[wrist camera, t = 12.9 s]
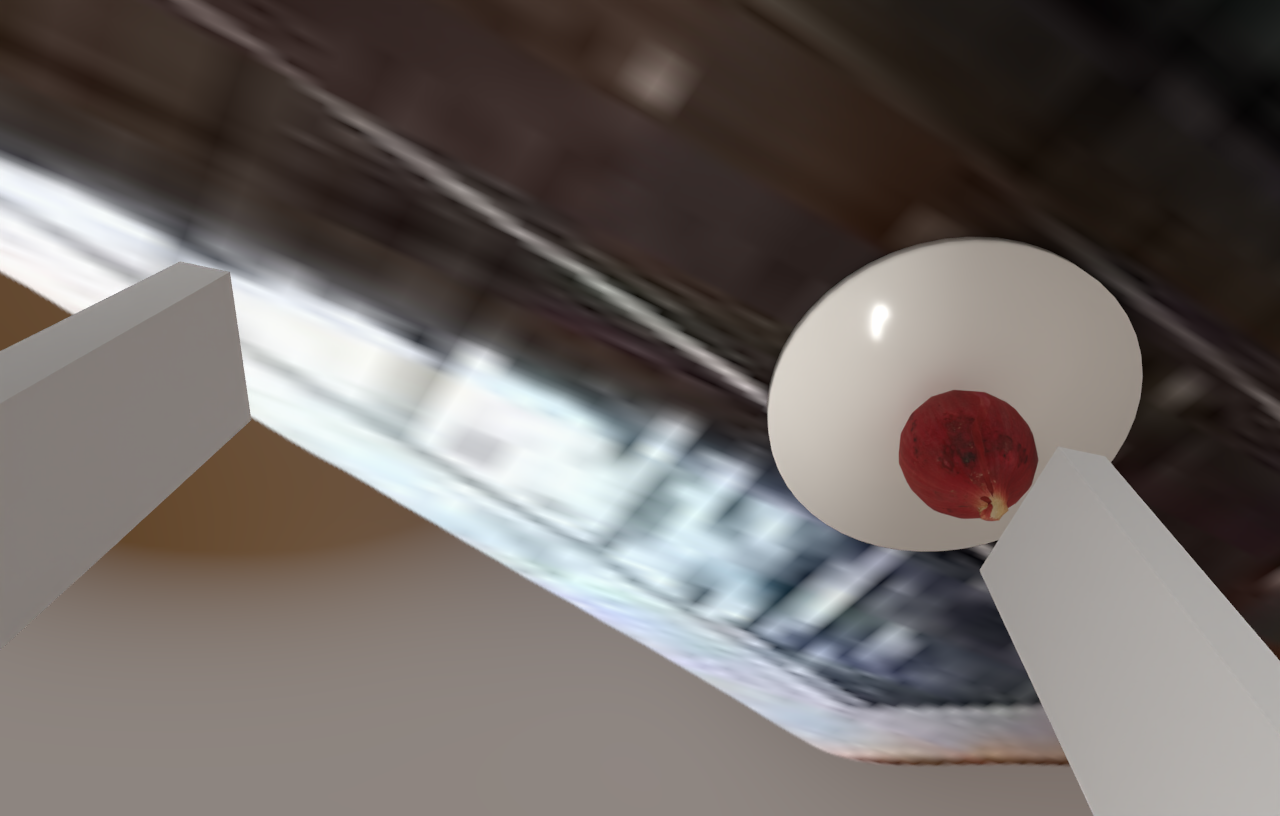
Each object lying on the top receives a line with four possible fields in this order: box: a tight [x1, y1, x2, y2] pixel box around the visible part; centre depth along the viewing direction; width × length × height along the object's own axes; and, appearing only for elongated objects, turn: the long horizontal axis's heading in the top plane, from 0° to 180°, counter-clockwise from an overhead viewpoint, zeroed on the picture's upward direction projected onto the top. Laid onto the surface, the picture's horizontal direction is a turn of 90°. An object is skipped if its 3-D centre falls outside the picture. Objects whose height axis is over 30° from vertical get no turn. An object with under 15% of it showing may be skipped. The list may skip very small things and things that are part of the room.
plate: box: [767, 236, 1143, 552], centre depth 35 cm, size 18×18×1 cm
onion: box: [899, 390, 1038, 521], centre depth 31 cm, size 6×6×8 cm
